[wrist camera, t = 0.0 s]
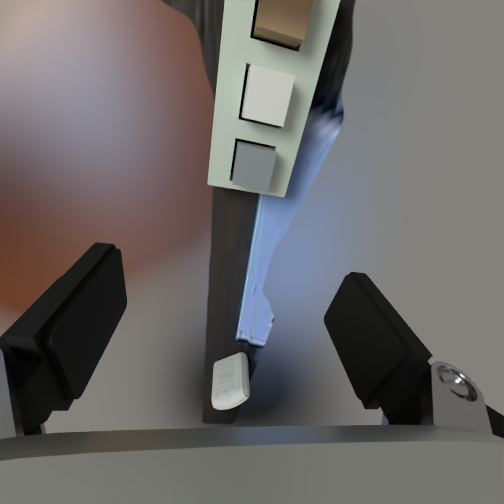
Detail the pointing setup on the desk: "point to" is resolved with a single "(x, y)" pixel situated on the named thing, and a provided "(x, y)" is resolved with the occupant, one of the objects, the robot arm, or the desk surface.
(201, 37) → the desk surface
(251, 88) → the white key
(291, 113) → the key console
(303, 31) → the walnut key
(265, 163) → the slate key
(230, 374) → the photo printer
